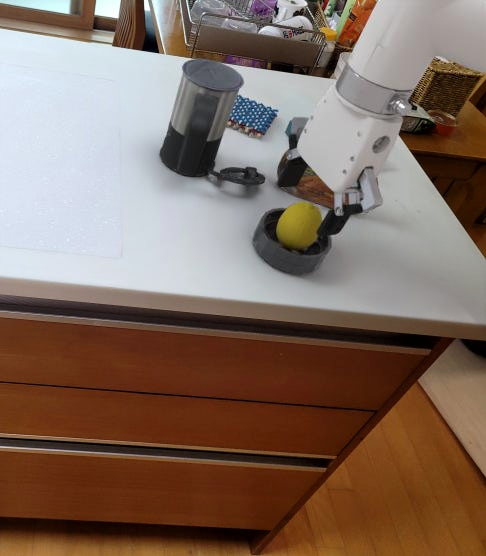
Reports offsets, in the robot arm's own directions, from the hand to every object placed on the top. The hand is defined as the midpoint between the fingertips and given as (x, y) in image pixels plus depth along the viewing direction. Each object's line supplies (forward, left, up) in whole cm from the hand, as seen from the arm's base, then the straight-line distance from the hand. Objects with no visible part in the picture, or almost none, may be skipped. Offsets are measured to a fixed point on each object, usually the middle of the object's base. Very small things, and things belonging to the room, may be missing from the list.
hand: (305, 209), depth 72 cm
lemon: (0, 0, -7) cm, 7 cm away
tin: (-12, -10, -8) cm, 18 cm away
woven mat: (-11, -33, -8) cm, 36 cm away
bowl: (0, 0, -8) cm, 8 cm away
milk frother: (+3, -19, -8) cm, 21 cm away
